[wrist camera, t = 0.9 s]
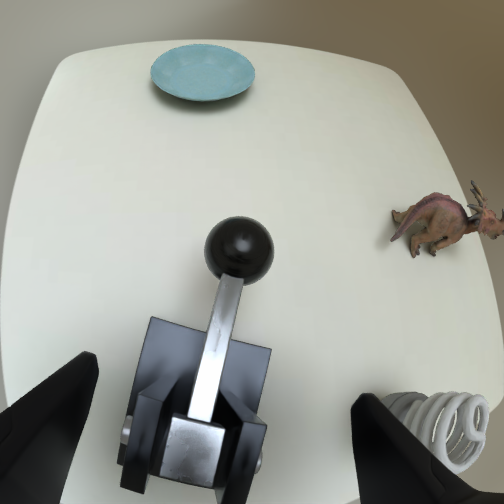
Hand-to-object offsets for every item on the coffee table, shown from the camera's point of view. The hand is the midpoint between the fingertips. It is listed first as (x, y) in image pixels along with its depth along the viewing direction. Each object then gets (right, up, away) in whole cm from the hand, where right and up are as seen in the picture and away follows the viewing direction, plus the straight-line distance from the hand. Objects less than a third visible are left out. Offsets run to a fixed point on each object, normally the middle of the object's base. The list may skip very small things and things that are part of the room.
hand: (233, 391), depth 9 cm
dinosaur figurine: (+19, +6, +20) cm, 29 cm away
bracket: (-4, -7, +11) cm, 13 cm away
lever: (-1, 0, +6) cm, 6 cm away
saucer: (-5, +24, +22) cm, 33 cm away
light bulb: (+11, -10, +13) cm, 20 cm away
